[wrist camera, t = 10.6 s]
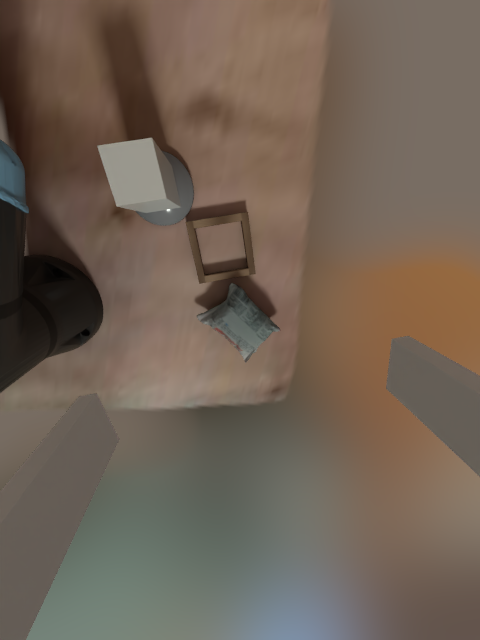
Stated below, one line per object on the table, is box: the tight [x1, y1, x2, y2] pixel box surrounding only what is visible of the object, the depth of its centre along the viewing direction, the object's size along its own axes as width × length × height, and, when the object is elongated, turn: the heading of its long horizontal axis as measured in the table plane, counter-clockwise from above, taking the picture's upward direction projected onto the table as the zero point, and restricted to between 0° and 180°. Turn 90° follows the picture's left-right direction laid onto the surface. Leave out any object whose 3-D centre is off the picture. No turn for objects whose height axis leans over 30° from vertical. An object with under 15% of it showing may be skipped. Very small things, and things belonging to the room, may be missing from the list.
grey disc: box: [136, 151, 194, 225], centre depth 31 cm, size 9×9×1 cm
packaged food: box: [197, 283, 280, 363], centre depth 38 cm, size 9×12×5 cm
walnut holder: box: [186, 212, 256, 284], centre depth 35 cm, size 9×9×1 cm
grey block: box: [97, 138, 181, 213], centre depth 26 cm, size 5×5×10 cm
